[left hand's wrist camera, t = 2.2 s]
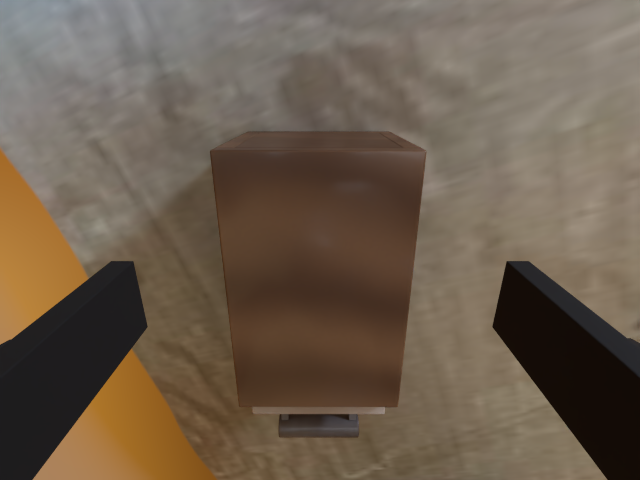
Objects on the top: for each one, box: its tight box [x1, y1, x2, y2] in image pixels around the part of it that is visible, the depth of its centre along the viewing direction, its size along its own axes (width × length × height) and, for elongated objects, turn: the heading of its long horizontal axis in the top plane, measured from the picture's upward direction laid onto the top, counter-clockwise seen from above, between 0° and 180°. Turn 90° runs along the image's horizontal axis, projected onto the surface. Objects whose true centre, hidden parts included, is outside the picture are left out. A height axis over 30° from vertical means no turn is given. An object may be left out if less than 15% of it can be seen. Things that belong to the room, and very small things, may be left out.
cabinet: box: [210, 132, 426, 407], centre depth 25 cm, size 17×10×10 cm, turn 0°
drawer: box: [252, 407, 385, 437], centre depth 26 cm, size 21×9×8 cm, turn 0°
